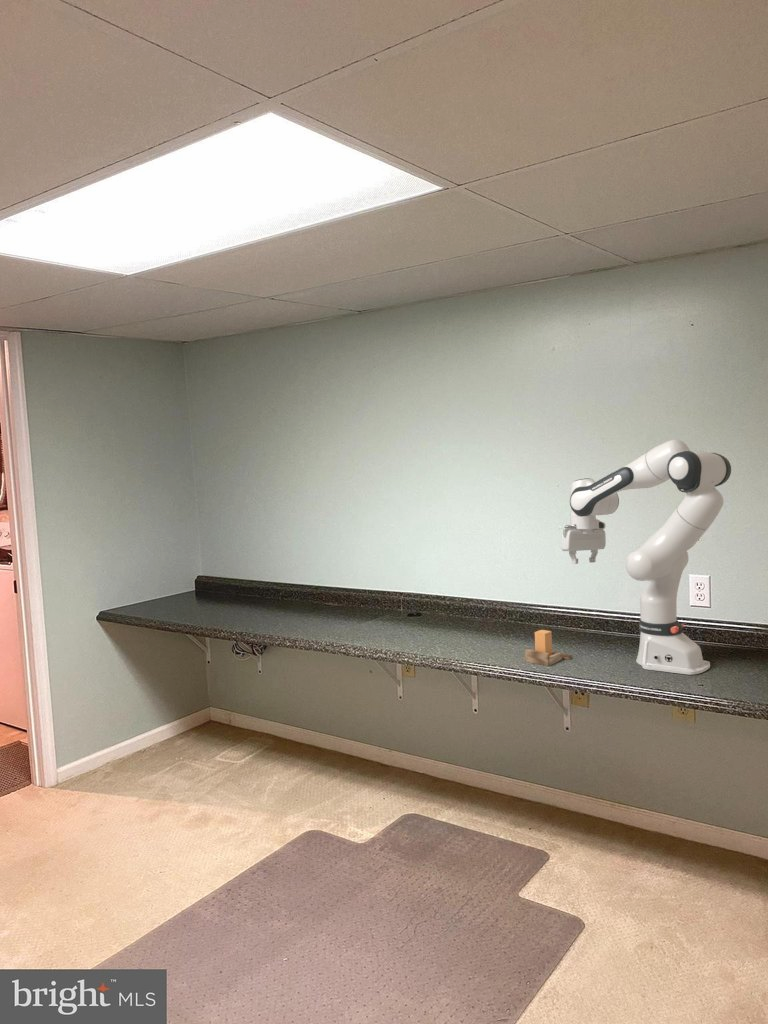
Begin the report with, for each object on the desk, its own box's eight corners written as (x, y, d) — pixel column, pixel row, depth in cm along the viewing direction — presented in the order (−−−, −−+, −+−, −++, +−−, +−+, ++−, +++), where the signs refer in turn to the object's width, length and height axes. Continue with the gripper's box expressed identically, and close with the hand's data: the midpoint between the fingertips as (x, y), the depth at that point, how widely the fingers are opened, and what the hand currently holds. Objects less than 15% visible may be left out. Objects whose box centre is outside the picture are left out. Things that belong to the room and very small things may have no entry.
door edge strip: (571, 658, 262) (570, 654, 262) (568, 659, 261) (568, 656, 261) (540, 652, 270) (540, 649, 270) (538, 653, 269) (538, 650, 269)
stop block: (552, 660, 261) (551, 631, 260) (545, 663, 258) (544, 633, 257) (542, 658, 264) (541, 629, 263) (535, 661, 261) (534, 632, 260)
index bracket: (561, 659, 261) (561, 648, 260) (547, 666, 255) (547, 654, 254) (539, 655, 267) (539, 644, 266) (525, 661, 261) (525, 650, 261)
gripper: (570, 525, 268) (571, 565, 268) (608, 523, 280) (609, 562, 280) (556, 524, 273) (557, 564, 273) (594, 523, 285) (594, 561, 285)
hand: (583, 563), depth 276 cm, fingers open, 8 cm apart
